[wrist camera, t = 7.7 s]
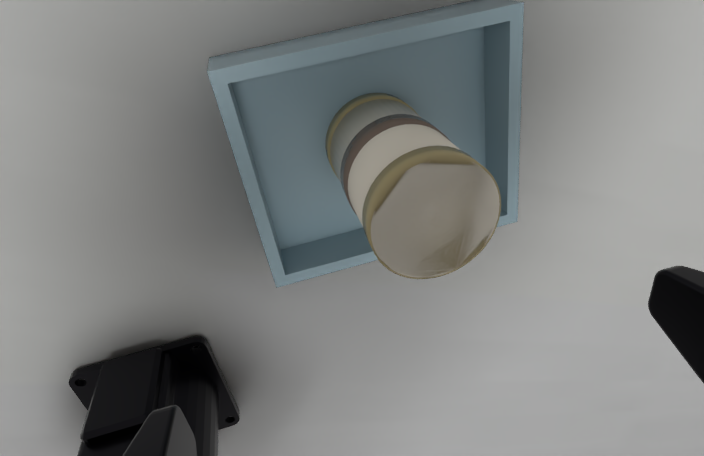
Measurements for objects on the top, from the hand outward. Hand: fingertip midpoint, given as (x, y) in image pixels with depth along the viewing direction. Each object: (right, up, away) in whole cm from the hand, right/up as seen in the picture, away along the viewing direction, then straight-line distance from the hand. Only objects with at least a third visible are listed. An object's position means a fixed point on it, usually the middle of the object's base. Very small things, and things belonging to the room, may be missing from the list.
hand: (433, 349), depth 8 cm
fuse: (-1, +6, +11) cm, 13 cm away
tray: (-1, +6, +12) cm, 13 cm away
